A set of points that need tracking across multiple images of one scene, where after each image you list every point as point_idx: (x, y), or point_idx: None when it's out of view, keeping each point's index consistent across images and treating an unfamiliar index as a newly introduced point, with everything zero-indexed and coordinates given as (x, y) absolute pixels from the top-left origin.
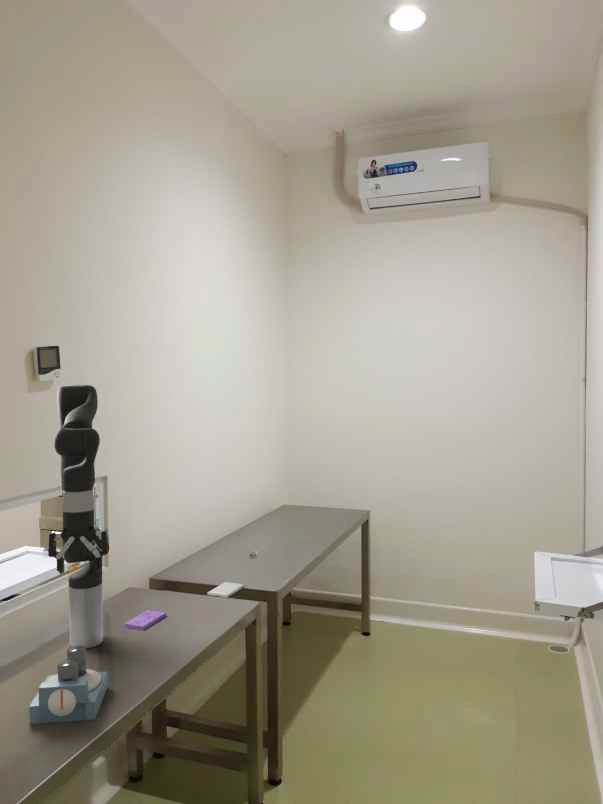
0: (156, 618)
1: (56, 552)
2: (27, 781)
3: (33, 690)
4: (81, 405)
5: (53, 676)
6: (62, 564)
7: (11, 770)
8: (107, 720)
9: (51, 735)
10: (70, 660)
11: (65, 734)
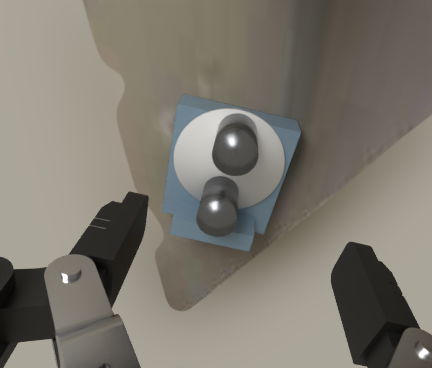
0: None
1: (29, 330)
2: (185, 297)
3: (153, 78)
4: None
5: (189, 128)
6: (125, 270)
7: (164, 277)
8: (280, 224)
9: None
10: (221, 207)
11: None
